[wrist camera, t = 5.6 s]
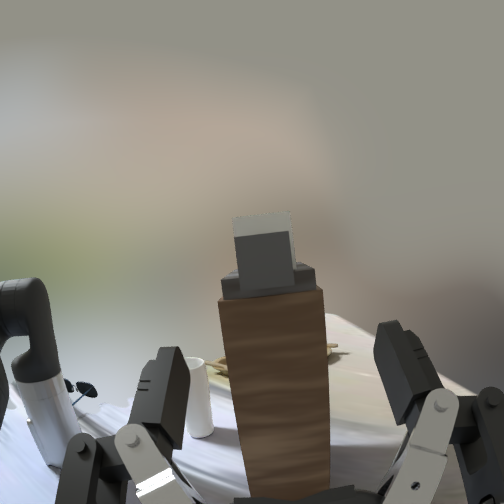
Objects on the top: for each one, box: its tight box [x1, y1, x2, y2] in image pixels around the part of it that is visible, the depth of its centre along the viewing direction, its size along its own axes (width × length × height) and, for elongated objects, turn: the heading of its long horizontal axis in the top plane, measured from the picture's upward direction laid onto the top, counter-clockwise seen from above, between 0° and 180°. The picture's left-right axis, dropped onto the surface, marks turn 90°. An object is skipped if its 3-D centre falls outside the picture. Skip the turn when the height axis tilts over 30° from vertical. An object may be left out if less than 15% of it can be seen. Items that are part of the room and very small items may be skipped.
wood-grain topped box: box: [218, 262, 330, 501], centre depth 36 cm, size 14×10×31 cm
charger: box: [232, 211, 297, 291], centre depth 30 cm, size 20×6×6 cm, turn 177°
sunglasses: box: [64, 379, 98, 406], centre depth 60 cm, size 17×15×5 cm
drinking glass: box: [184, 357, 214, 438], centre depth 51 cm, size 7×7×15 cm
